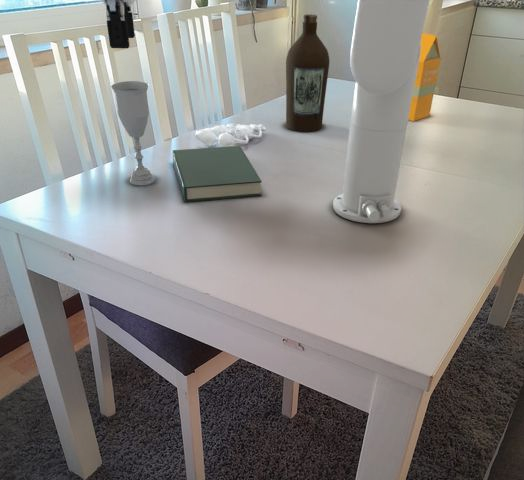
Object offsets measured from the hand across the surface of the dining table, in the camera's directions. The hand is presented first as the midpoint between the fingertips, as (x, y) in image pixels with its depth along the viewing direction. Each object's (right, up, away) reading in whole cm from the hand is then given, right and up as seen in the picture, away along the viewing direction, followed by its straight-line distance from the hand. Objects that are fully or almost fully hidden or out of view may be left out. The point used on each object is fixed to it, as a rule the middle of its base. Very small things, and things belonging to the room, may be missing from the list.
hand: (123, 42), depth 96 cm
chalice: (0, -20, +16) cm, 25 cm away
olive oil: (+36, +4, +46) cm, 58 cm away
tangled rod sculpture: (+17, -3, +36) cm, 40 cm away
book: (+15, -19, +17) cm, 29 cm away
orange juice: (+66, +11, +55) cm, 87 cm away
